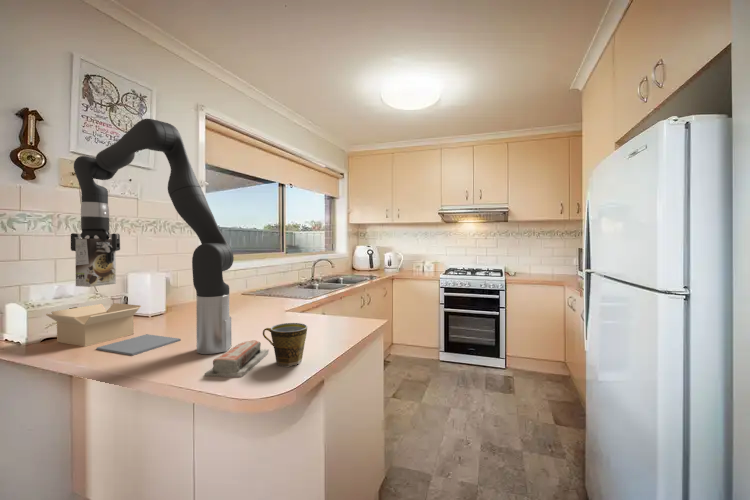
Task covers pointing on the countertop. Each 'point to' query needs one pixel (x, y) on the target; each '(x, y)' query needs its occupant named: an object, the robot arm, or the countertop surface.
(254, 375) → the countertop surface
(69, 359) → the countertop surface
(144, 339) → the mat
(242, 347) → the packaged product
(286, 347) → the ceramic cup
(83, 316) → the carton
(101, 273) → the coffee box
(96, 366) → the countertop surface
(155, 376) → the countertop surface
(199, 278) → the robot arm
